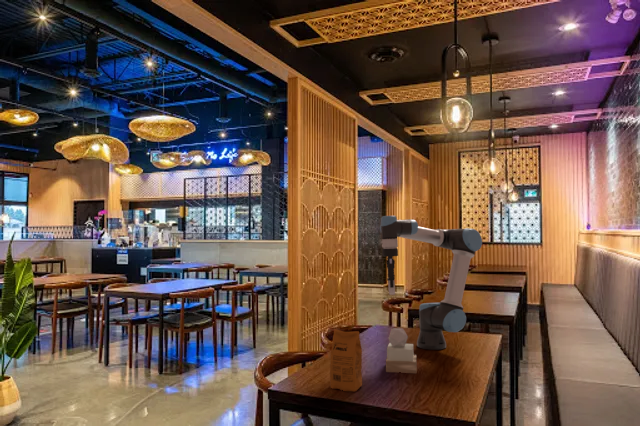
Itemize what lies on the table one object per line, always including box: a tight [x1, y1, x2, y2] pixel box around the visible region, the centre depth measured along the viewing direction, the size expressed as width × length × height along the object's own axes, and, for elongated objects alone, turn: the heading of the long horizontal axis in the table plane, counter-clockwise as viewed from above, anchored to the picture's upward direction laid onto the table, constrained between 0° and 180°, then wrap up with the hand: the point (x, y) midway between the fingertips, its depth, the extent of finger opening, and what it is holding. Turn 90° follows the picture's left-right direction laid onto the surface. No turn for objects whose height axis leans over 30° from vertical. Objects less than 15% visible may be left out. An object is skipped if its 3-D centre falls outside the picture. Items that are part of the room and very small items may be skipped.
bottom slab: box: [385, 354, 418, 374], centre depth 199 cm, size 13×13×5 cm
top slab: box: [386, 342, 415, 362], centre depth 200 cm, size 11×11×5 cm
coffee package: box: [329, 328, 363, 392], centre depth 175 cm, size 10×12×22 cm
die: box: [388, 327, 409, 347], centre depth 200 cm, size 8×9×10 cm
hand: (391, 292), depth 213 cm, fingers open, 13 cm apart
